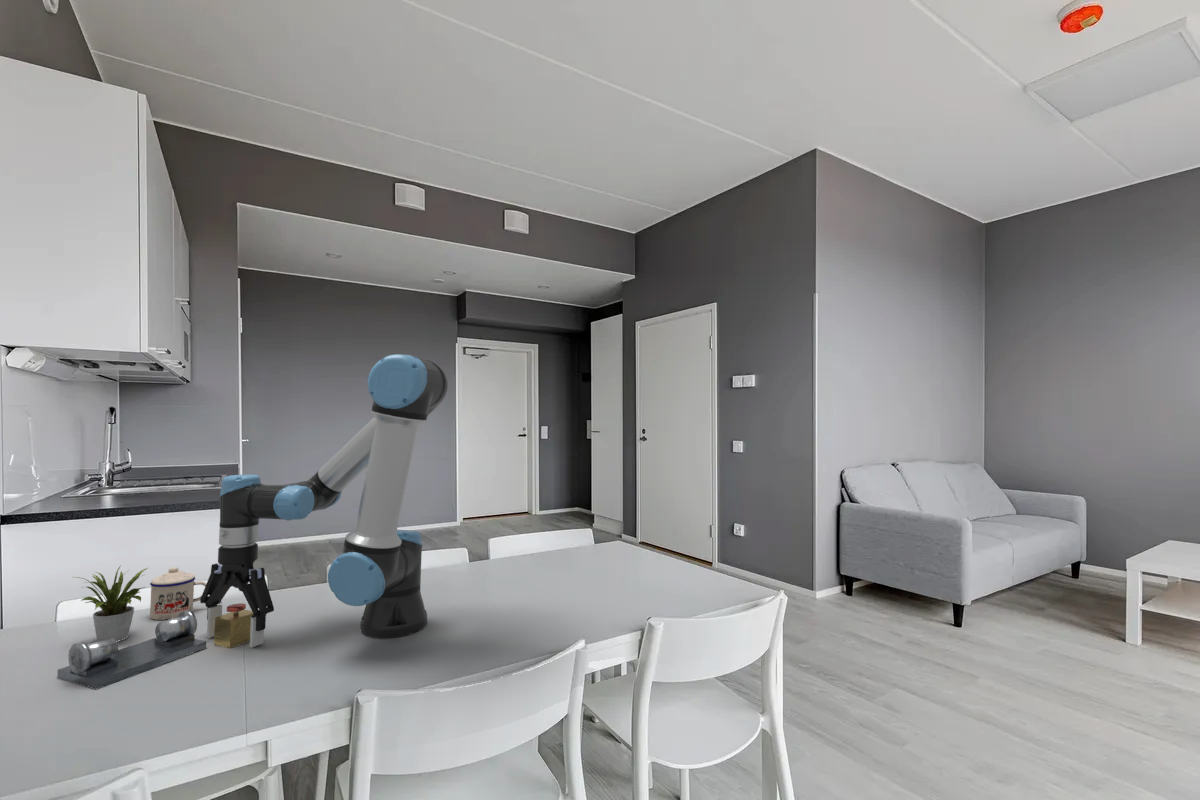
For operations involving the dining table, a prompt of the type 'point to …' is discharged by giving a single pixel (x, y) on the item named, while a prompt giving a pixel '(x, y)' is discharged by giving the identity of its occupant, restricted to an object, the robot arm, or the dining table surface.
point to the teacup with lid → (172, 594)
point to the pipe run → (131, 653)
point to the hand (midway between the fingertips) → (235, 640)
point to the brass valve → (233, 626)
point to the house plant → (113, 607)
